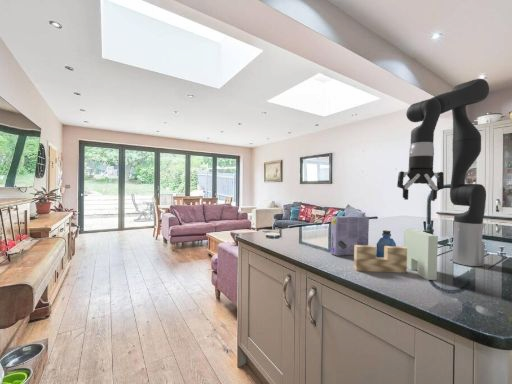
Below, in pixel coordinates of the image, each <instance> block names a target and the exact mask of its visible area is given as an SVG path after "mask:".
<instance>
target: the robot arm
mask: <svg viewBox="0 0 512 384" xmlns="http://www.w3.org/2000/svg"><path fill="white" fill-rule="evenodd" d="M489 93H490V87H489V82H488V81H487V80H485V79H484V78H476V79H472V80H470V81H466V82H463V83H460V84H457V85H455V86H454V87H453V88H452V90H451V91H447V92H444V93H441V94H438V95H435V96H433V97H431V98H428V99H425V100H421V101H418V102H416V103H412V104H411V105H410V106H409V107H407V110H406V113H405V114H406V115H405V116H406V118H407V120H408V121H410V122H411V123H420V122H421V124H420V125H418V126H416V127H415V128H413V129H411V132H410V147H409V151H408V152H409V153H408V154H409V156H408V171H407V172H406V171H403V170H402V171H398V176H397V185H396V186H397V188H399V189H401V190H402V199H404V200H406V201H407V200H409V188H410V187H411V186H412V185H413V184H415V185H416V184H417V185H418V184H422V185H426V186H428V187H429V189H430V195H429V196H430V198H429V199H430V201H433V202H435V201H436V200H437V198H438V190H442V189H444V188H445V187H444V186H445V183H444V181H445V179H444V172H443V171H439V172H434V158H435V157H434V156H435V147H434V145H435V144H434V140H435V139H434V138H435V137H434V136H435V130H436V127H437V124H438V122H439V119H440V116H441V115H442V114H444V113H445V114H446V112H450V111H452V112H451V114H452V169H451V180H450V186H449V187H450V188H449V189H450V190H449V199H450V202H451V203H452V205H454V206H460V207H461V206H462V207H463V206H464V207H468V210H466V211H465V212H461V213H456V214H455V215H454V217H453V239H452V240H453V241H452V262H453V263H455V264H459V265H464V266H470V267H481V266H485V249H486V248H485V247H486V245H485V242H484V241H483V231H484V230H483V229H484V228H483V225H484V224H483V223H484V219H485V211H486V201H487V191H486V190H487V189H486V187H485V186H484V184H481V183H480V184H479V183H466V177H467V174H468V171H469V169H470V168H471V167H472V165H473V164H474V163H475V162H476V160H477V159H478V157H479V155H480V154H481V152H482V134H481V132H480V131H479V129H478V128H477V127H476V126H475V125H474V124H473V123H472V121H471V120H470V119H469V117H468V114H467V106H469V105H474V104H478V103H481V102H483V101H484V100H485V99H486V98H487V97H488V96H489ZM406 177H408V180H407V181H406V182H405V184H404V178H406ZM433 177H435V179H436V184H435V181H433V180H432V178H433Z"/></svg>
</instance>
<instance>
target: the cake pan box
mask: <svg viewBox="0 0 512 384" xmlns="http://www.w3.org/2000/svg"><path fill="white" fill-rule="evenodd" d="M330 223H331V225H330V254H331V255H334V256H336V257H339V256H340V257H342V256H354V245H369V230H370V229H369V228H370V225H369V223H370V217H369V216H363V215H362V216H359V215H358V216H352V215H351V216H349V215H346V216H344V215H343V216H341V215H340V216H337V215H336V216H335V215H334V216H331V222H330Z"/></svg>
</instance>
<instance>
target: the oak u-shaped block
mask: <svg viewBox="0 0 512 384" xmlns="http://www.w3.org/2000/svg"><path fill="white" fill-rule="evenodd" d="M376 248H377V246H374V245H369V244H368V245H354V255H353V269H354V270H355V271H356V272H357V271H358V272H377V273H378V272H380V273H382V272H383V273H402V272H403V273H404V274H406V273H407V269H408V268H407V248H405V247H404V245H403V246H398V245H396V246H384V258H382V257H376Z"/></svg>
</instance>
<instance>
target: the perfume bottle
mask: <svg viewBox="0 0 512 384" xmlns="http://www.w3.org/2000/svg"><path fill="white" fill-rule="evenodd" d="M381 236H382V237H380V238H379V240H378V241H377V242H376V257H382V258H384V246H397V244H396V242H395V240H394V238H391V237H392V233H391V230H382V233H381Z"/></svg>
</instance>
